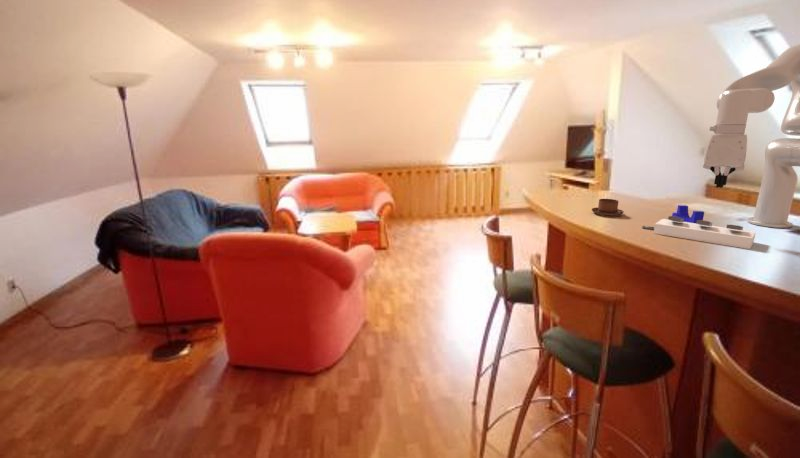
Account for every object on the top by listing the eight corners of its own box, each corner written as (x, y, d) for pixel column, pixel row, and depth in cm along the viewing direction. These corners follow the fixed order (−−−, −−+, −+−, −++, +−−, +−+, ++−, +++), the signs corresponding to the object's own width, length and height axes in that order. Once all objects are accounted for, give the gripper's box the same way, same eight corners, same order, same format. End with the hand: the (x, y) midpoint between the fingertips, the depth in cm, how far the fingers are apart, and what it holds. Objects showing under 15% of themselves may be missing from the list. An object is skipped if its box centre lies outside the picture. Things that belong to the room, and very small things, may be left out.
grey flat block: (671, 220, 144) (672, 217, 144) (683, 222, 142) (684, 218, 141) (668, 219, 140) (668, 215, 140) (680, 221, 137) (681, 217, 137)
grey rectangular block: (728, 228, 133) (729, 224, 133) (742, 230, 131) (743, 226, 130) (726, 228, 129) (727, 224, 129) (740, 230, 126) (741, 226, 126)
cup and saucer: (594, 210, 179) (596, 196, 177) (625, 213, 172) (627, 199, 170) (588, 215, 169) (590, 201, 168) (620, 219, 162) (622, 204, 161)
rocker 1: (698, 224, 139) (699, 220, 138) (711, 226, 136) (712, 222, 136) (695, 223, 134) (696, 219, 134) (709, 225, 132) (710, 221, 132)
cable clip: (671, 219, 161) (673, 205, 160) (683, 220, 161) (686, 205, 159) (688, 227, 150) (691, 211, 148) (701, 227, 149) (704, 212, 148)
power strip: (645, 225, 152) (647, 216, 151) (753, 242, 131) (755, 231, 130) (637, 230, 145) (639, 221, 144) (749, 249, 124) (752, 238, 123)
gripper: (698, 130, 132) (690, 186, 137) (759, 131, 122) (747, 191, 127) (703, 129, 137) (694, 183, 142) (761, 129, 127) (750, 187, 132)
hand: (719, 186), depth 134 cm, fingers closed
